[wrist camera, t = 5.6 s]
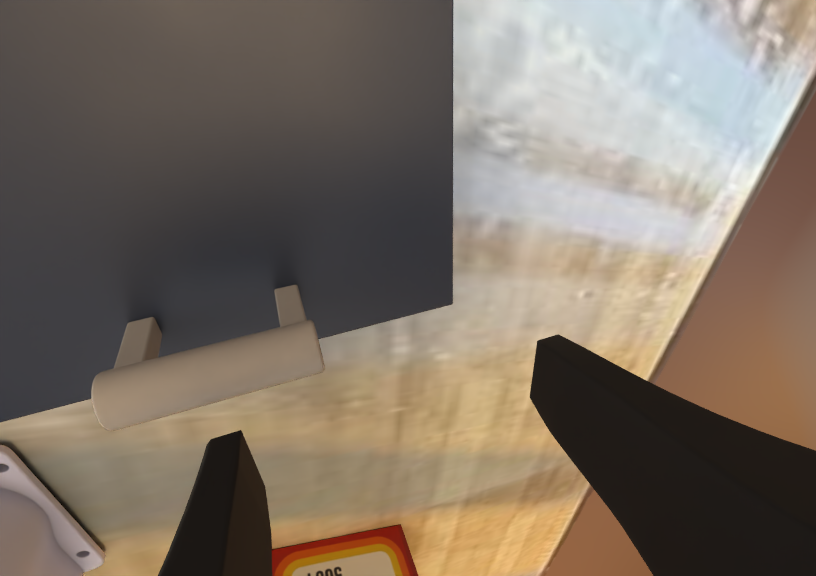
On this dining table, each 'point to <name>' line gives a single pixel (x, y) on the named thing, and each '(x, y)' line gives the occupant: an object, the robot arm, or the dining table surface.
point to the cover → (213, 192)
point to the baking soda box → (348, 556)
